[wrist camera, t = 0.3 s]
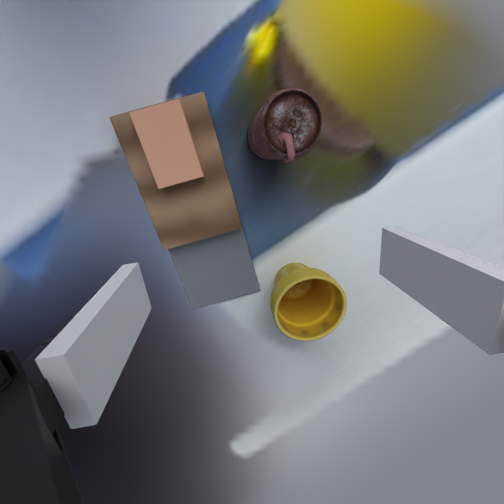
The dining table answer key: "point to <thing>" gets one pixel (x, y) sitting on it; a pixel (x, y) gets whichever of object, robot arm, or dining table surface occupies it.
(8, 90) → the dining table surface
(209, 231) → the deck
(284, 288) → the plant pot
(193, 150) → the tile
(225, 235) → the mat
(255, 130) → the can
